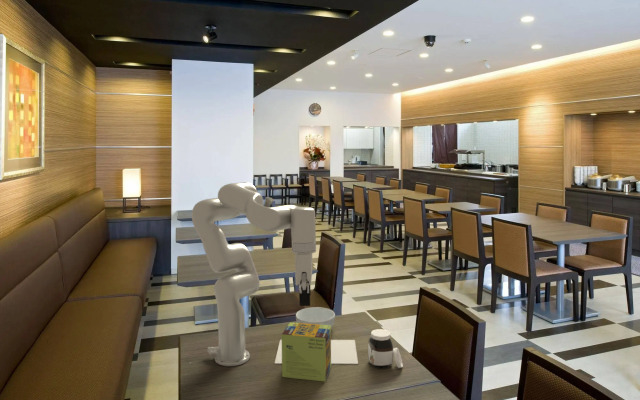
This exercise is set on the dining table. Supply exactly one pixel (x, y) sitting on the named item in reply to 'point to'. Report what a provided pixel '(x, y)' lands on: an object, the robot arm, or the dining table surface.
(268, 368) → the dining table surface
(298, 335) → the protein box
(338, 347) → the display mat
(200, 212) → the robot arm
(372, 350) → the spread jar
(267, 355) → the dining table surface
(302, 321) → the cereal bowl
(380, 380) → the dining table surface
